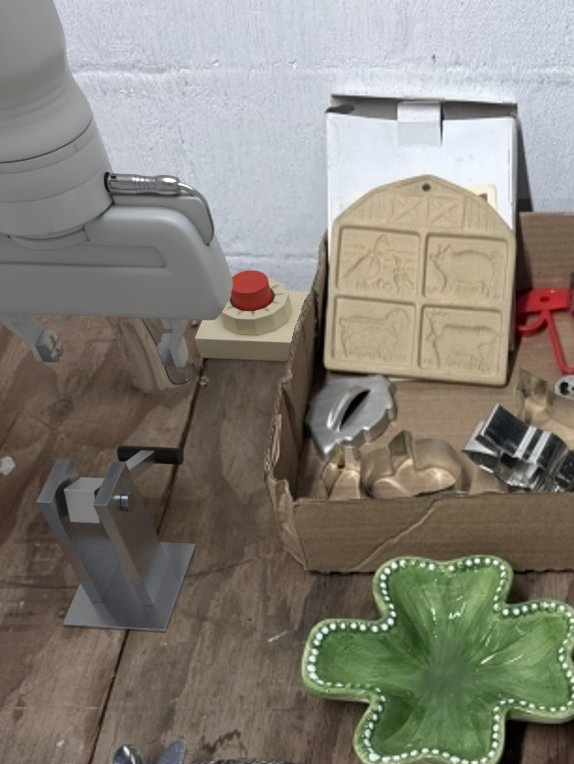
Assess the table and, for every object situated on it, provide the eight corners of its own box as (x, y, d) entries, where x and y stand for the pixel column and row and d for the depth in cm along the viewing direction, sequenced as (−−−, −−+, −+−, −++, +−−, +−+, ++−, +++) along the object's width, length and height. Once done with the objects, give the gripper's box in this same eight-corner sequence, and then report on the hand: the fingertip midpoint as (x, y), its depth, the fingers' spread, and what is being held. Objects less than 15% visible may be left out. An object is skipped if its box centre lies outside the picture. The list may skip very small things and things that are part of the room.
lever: (126, 465, 87) (121, 436, 86) (186, 468, 87) (181, 439, 86) (51, 521, 76) (43, 488, 75) (119, 524, 76) (113, 491, 75)
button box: (200, 358, 101) (188, 321, 98) (221, 307, 106) (210, 270, 103) (304, 362, 101) (295, 325, 98) (321, 311, 105) (313, 274, 102)
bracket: (104, 548, 87) (47, 435, 78) (199, 553, 87) (155, 440, 77) (67, 634, 82) (2, 524, 73) (169, 639, 82) (117, 530, 72)
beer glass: (190, 409, 97) (136, 257, 85) (117, 402, 98) (54, 250, 85) (215, 361, 101) (167, 209, 89) (145, 355, 102) (88, 203, 89)
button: (229, 311, 99) (224, 292, 98) (239, 288, 101) (233, 269, 100) (267, 313, 99) (262, 293, 98) (276, 290, 101) (271, 270, 100)
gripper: (212, 150, 68) (263, 337, 79) (-97, 142, 69) (-3, 328, 81) (186, 205, 64) (243, 393, 76) (-139, 195, 66) (-36, 382, 77)
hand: (114, 359), depth 78 cm, fingers open, 8 cm apart
